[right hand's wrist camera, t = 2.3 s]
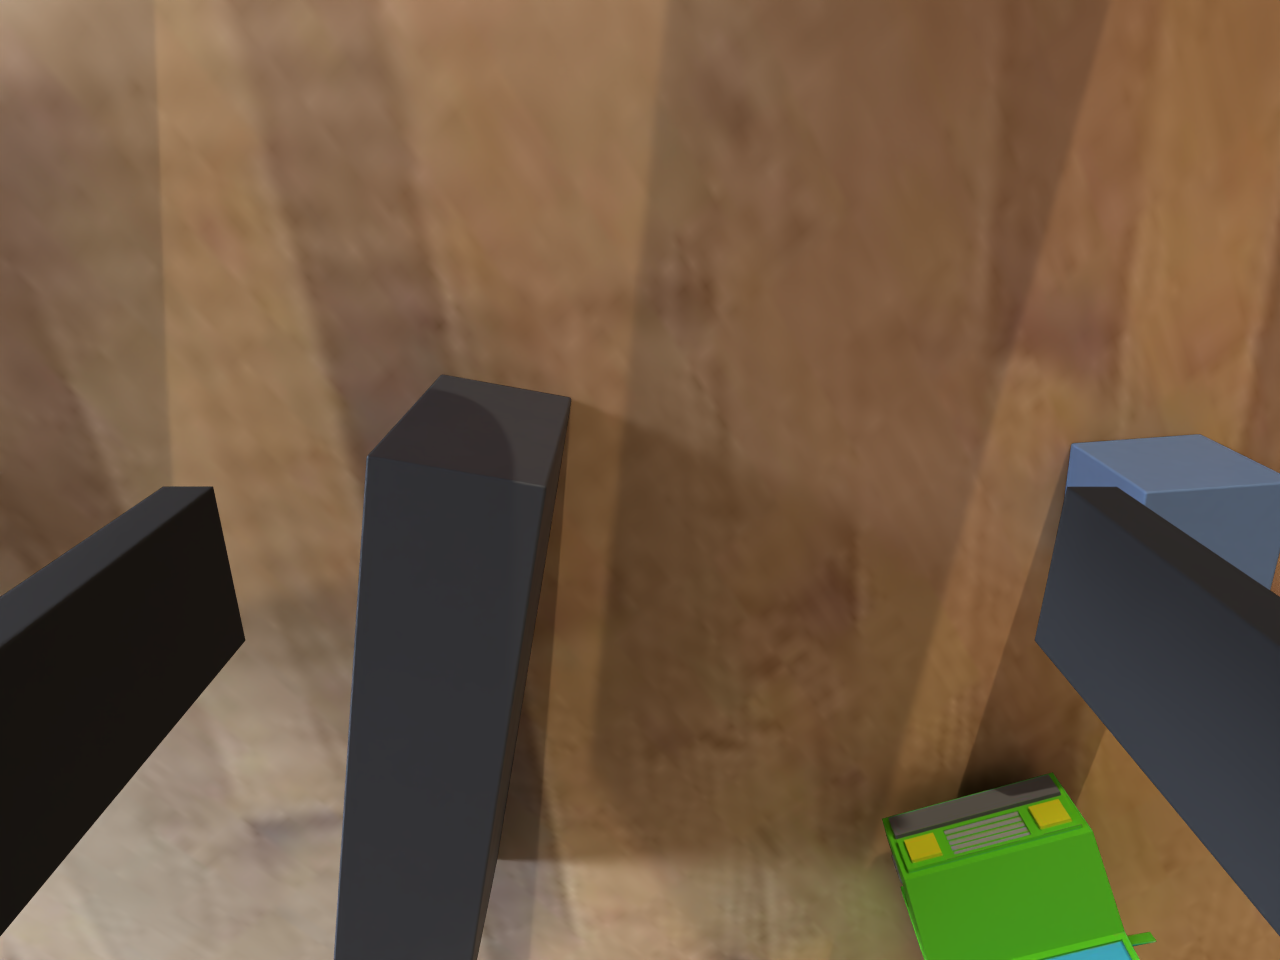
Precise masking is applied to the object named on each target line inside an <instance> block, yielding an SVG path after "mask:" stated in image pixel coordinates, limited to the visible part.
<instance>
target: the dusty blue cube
mask: <svg viewBox="0 0 1280 960" xmlns="http://www.w3.org/2000/svg"><path fill="white" fill-rule="evenodd" d="M1067 487H1118V488H1120V489H1121V490H1122V491H1124V492H1125V493H1127V494H1128V495H1130V496H1131V497H1133V498H1134V499H1136V500H1137V501H1139V502H1140V503H1142V504H1143V505H1145V506H1146V507H1148V508H1149V509H1151V510H1152V511H1154V512H1155V513H1156V514H1158V515H1159V516H1161V517H1162V518H1164V519H1165V520H1167V521H1168V522H1170V523H1171V524H1173V525H1174V526H1176V527H1177V528H1179V529H1180V530H1182V531H1183V532H1185V533H1186V534H1187V535H1189V536H1190V537H1192V538H1193V539H1195V540H1196V541H1198V542H1199V543H1201V544H1202V545H1204V546H1205V547H1207V548H1208V549H1210V550H1211V551H1213V552H1214V553H1216V554H1217V555H1219V556H1220V557H1221V558H1223V559H1224V560H1226V561H1227V562H1229V563H1230V564H1232V565H1233V566H1235V567H1236V568H1238V569H1239V570H1241V571H1242V572H1244V573H1245V574H1247V575H1248V576H1250V577H1251V578H1252V579H1254V580H1255V581H1257V582H1258V583H1260V584H1261V585H1263V586H1264V587H1266V588H1267V589H1269V590H1270V589H1271V585H1272V581H1273V577H1274V573H1275V569H1276V565H1277V561H1278V557H1279V553H1280V473H1278V472H1276V471H1274V470H1272V469H1270V468H1268V467H1266V466H1263V465H1261V464H1259V463H1257V462H1255V461H1253V460H1251V459H1249V458H1247V457H1245V456H1243V455H1241V454H1239V453H1237V452H1235V451H1233V450H1231V449H1229V448H1227V447H1225V446H1223V445H1221V444H1219V443H1217V442H1215V441H1213V440H1211V439H1209V438H1207V437H1205V436H1203V435H1200V434H1197V435H1183V436H1169V437H1155V438H1141V439H1127V440H1113V441H1099V442H1085V443H1073V444H1072V445H1071V451H1070V459H1069V467H1068V474H1067V482H1066V489H1067ZM1066 489H1065V493H1066ZM1064 498H1065V497H1064Z"/></svg>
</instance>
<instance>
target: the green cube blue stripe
mask: <svg viewBox="0 0 1280 960" xmlns="http://www.w3.org/2000/svg"><path fill="white" fill-rule="evenodd" d="M882 820H883V824H884V828H885V831H886V835H887V839H888V842H889V845H890V848H891V851H892V859H893V862H894V865H895V868H896V871H897V874H898V876H899V879H900V882H901V883H902V884H903V886H902V887H901V890H902V894H903V897H904V900H905V903H906V906H907V909H908V912H909V915H910V918H911V922H912V925H913V928H914V931H915V934H916V937H917V940H918V943H919V946H920V949H921V951H922V954H923V957H924V960H1140V959H1139V958H1138V956H1137V954H1136V952H1135V950H1134V948H1133V946H1137V945H1142V944H1148V943H1153V942H1156V940H1155V938H1154V937H1153V936H1152V934H1151V933H1150V932H1146V933H1141V934H1135V935H1129V936H1127V935H1126V933H1125V931H1124V928H1123V925H1122V922H1121V918H1120V915H1119V912H1118V909H1117V906H1116V903H1115V900H1114V896H1113V893H1112V890H1111V887H1110V884H1109V881H1108V878H1107V874H1106V871H1105V868H1104V865H1103V862H1102V859H1101V856H1100V852H1099V849H1098V846H1097V843H1096V840H1095V837H1094V834H1093V831H1092V829H1091V828H1090V827H1089V825H1088V824H1087V822H1086V821H1085V819H1084V818H1083V816H1082V815H1081V813H1080V812H1079V810H1078V809H1077V807H1076V806H1075V805H1074V803H1073V802H1072V800H1071V799H1070V797H1069V796H1068V794H1067V793H1066V791H1065V790H1064V788H1063V787H1062V785H1061V784H1060V783H1059V781H1058V780H1057V778H1056V777H1055V775H1054V774H1053V773H1049V774H1045V775H1042V776H1038V777H1034V778H1031V779H1027V780H1023V781H1020V782H1016V783H1012V784H1008V785H1005V786H1001V787H997V788H994V789H990V790H986V791H983V792H979V793H975V794H972V795H968V796H964V797H961V798H957V799H953V800H949V801H946V802H942V803H938V804H935V805H931V806H927V807H924V808H920V809H916V810H913V811H909V812H905V813H902V814H898V815H894V816H891V817H887V818H883V819H882Z"/></svg>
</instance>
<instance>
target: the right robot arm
mask: <svg viewBox="0 0 1280 960" xmlns="http://www.w3.org/2000/svg"><path fill="white" fill-rule="evenodd" d="M244 641H245V636H244V632H243V627H242V622H241V617H240V613H239V608H238V603H237V598H236V594H235V589H234V584H233V579H232V574H231V570H230V565H229V560H228V555H227V551H226V546H225V541H224V536H223V532H222V527H221V522H220V517H219V512H218V508H217V503H216V498H215V493H214V489H213V487H162V488H160V489H159V490H158V491H156V492H155V493H153V494H152V495H150V496H149V497H147V498H146V499H144V500H143V501H141V502H140V503H138V504H137V505H135V506H134V507H132V508H131V509H129V510H128V511H126V512H125V513H124V514H122V515H121V516H119V517H118V518H116V519H115V520H113V521H112V522H110V523H109V524H107V525H106V526H104V527H103V528H101V529H100V530H98V531H97V532H95V533H94V534H93V535H91V536H90V537H88V538H87V539H85V540H84V541H82V542H81V543H79V544H78V545H76V546H75V547H73V548H72V549H70V550H69V551H67V552H66V553H64V554H63V555H61V556H60V557H59V558H57V559H56V560H54V561H53V562H51V563H50V564H48V565H47V566H45V567H44V568H42V569H41V570H39V571H38V572H36V573H35V574H33V575H32V576H30V577H29V578H28V579H26V580H25V581H23V582H22V583H20V584H19V585H17V586H16V587H14V588H13V589H11V590H10V591H8V592H7V593H5V594H4V595H2V596H1V597H0V936H1V935H2V934H3V932H4V931H5V930H6V929H7V928H8V926H9V925H10V924H11V923H12V922H13V920H14V919H15V918H16V917H17V915H18V914H19V913H20V912H21V911H22V909H23V908H24V907H25V906H26V905H27V903H28V902H29V901H30V900H31V899H32V897H33V896H34V895H35V894H36V893H37V891H38V890H39V889H40V888H41V887H42V885H43V884H44V883H45V882H46V880H47V879H48V878H49V877H50V876H51V874H52V873H53V872H54V871H55V870H56V868H57V867H58V866H59V865H60V864H61V862H62V861H63V860H64V859H65V858H66V856H67V855H68V854H69V853H70V851H71V850H72V849H73V848H74V847H75V845H76V844H77V843H78V842H79V841H80V839H81V838H82V837H83V836H84V835H85V833H86V832H87V831H88V830H89V829H90V827H91V826H92V825H93V824H94V823H95V821H96V820H97V819H98V818H99V816H100V815H101V814H102V813H103V812H104V810H105V809H106V808H107V807H108V806H109V804H110V803H111V802H112V801H113V800H114V798H115V797H116V796H117V795H118V794H119V792H120V791H121V790H122V789H123V788H124V786H125V785H126V784H127V783H128V781H129V780H130V779H131V778H132V777H133V775H134V774H135V773H136V772H137V771H138V769H139V768H140V767H141V766H142V765H143V763H144V762H145V761H146V760H147V759H148V757H149V756H150V755H151V754H152V752H153V751H154V750H155V749H156V748H157V746H158V745H159V744H160V743H161V742H162V740H163V739H164V738H165V737H166V736H167V734H168V733H169V732H170V731H171V730H172V728H173V727H174V726H175V725H176V724H177V722H178V721H179V720H180V719H181V717H182V716H183V715H184V714H185V713H186V711H187V710H188V709H189V708H190V707H191V705H192V704H193V703H194V702H195V701H196V699H197V698H198V697H199V696H200V695H201V693H202V692H203V691H204V690H205V689H206V687H207V686H208V685H209V684H210V682H211V681H212V680H213V679H214V678H215V676H216V675H217V674H218V673H219V672H220V670H221V669H222V668H223V667H224V666H225V664H226V663H227V662H228V661H229V660H230V658H231V657H232V656H233V655H234V654H235V652H236V651H237V650H238V649H239V647H240V646H241V645H242V644H243V643H244ZM1035 641H1036V643H1037V644H1038V645H1039V646H1040V647H1041V649H1042V650H1043V651H1044V652H1045V654H1046V655H1047V656H1048V657H1049V658H1050V660H1051V661H1052V662H1053V663H1054V664H1055V666H1056V667H1057V668H1058V669H1059V670H1060V672H1061V673H1062V674H1063V675H1064V676H1065V678H1066V679H1067V680H1068V681H1069V682H1070V684H1071V685H1072V686H1073V687H1074V689H1075V690H1076V691H1077V692H1078V693H1079V695H1080V696H1081V697H1082V698H1083V699H1084V701H1085V702H1086V703H1087V704H1088V705H1089V707H1090V708H1091V709H1092V710H1093V711H1094V713H1095V714H1096V715H1097V716H1098V717H1099V719H1100V720H1101V721H1102V722H1103V724H1104V725H1105V726H1106V727H1107V728H1108V730H1109V731H1110V732H1111V733H1112V734H1113V736H1114V737H1115V738H1116V739H1117V740H1118V742H1119V743H1120V744H1121V745H1122V746H1123V748H1124V749H1125V750H1126V751H1127V752H1128V754H1129V755H1130V756H1131V757H1132V759H1133V760H1134V761H1135V762H1136V763H1137V765H1138V766H1139V767H1140V768H1141V769H1142V771H1143V772H1144V773H1145V774H1146V775H1147V777H1148V778H1149V779H1150V780H1151V781H1152V783H1153V784H1154V785H1155V786H1156V788H1157V789H1158V790H1159V791H1160V792H1161V794H1162V795H1163V796H1164V797H1165V798H1166V800H1167V801H1168V802H1169V803H1170V804H1171V806H1172V807H1173V808H1174V809H1175V810H1176V812H1177V813H1178V814H1179V815H1180V816H1181V818H1182V819H1183V820H1184V821H1185V823H1186V824H1187V825H1188V826H1189V827H1190V829H1191V830H1192V831H1193V832H1194V833H1195V835H1196V836H1197V837H1198V838H1199V839H1200V841H1201V842H1202V843H1203V844H1204V845H1205V847H1206V848H1207V849H1208V850H1209V851H1210V853H1211V854H1212V855H1213V856H1214V858H1215V859H1216V860H1217V861H1218V862H1219V864H1220V865H1221V866H1222V867H1223V868H1224V870H1225V871H1226V872H1227V873H1228V874H1229V876H1230V877H1231V878H1232V879H1233V880H1234V882H1235V883H1236V884H1237V885H1238V887H1239V888H1240V889H1241V890H1242V891H1243V893H1244V894H1245V895H1246V896H1247V897H1248V899H1249V900H1250V901H1251V902H1252V903H1253V905H1254V906H1255V907H1256V908H1257V909H1258V911H1259V912H1260V913H1261V914H1262V915H1263V917H1264V918H1265V919H1266V920H1267V922H1268V923H1269V924H1270V925H1271V926H1272V928H1273V929H1274V930H1275V931H1276V932H1277V934H1278V935H1279V936H1280V597H1279V596H1278V595H1276V594H1275V593H1273V592H1272V591H1270V590H1269V589H1267V588H1266V587H1264V586H1263V585H1261V584H1260V583H1258V582H1257V581H1255V580H1254V579H1252V578H1251V577H1250V576H1248V575H1247V574H1245V573H1244V572H1242V571H1241V570H1239V569H1238V568H1236V567H1235V566H1233V565H1232V564H1230V563H1229V562H1227V561H1226V560H1224V559H1223V558H1221V557H1220V556H1219V555H1217V554H1216V553H1214V552H1213V551H1211V550H1210V549H1208V548H1207V547H1205V546H1204V545H1202V544H1201V543H1199V542H1198V541H1196V540H1195V539H1193V538H1192V537H1190V536H1189V535H1187V534H1186V533H1185V532H1183V531H1182V530H1180V529H1179V528H1177V527H1176V526H1174V525H1173V524H1171V523H1170V522H1168V521H1167V520H1165V519H1164V518H1162V517H1161V516H1159V515H1158V514H1156V513H1155V512H1154V511H1152V510H1151V509H1149V508H1148V507H1146V506H1145V505H1143V504H1142V503H1140V502H1139V501H1137V500H1136V499H1134V498H1133V497H1131V496H1130V495H1128V494H1127V493H1125V492H1124V491H1122V490H1121V489H1120V488H1118V487H1067V489H1066V493H1065V498H1064V503H1063V508H1062V512H1061V517H1060V522H1059V527H1058V532H1057V536H1056V541H1055V546H1054V551H1053V555H1052V560H1051V565H1050V570H1049V574H1048V579H1047V584H1046V589H1045V594H1044V598H1043V603H1042V608H1041V613H1040V617H1039V622H1038V627H1037V632H1036V636H1035Z"/></svg>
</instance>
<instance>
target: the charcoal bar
mask: <svg viewBox="0 0 1280 960" xmlns="http://www.w3.org/2000/svg"><path fill="white" fill-rule="evenodd" d="M570 405H571V398H570V397H564V396H559V395H553V394H548V393H542V392H537V391H531V390H526V389H520V388H514V387H509V386H503V385H498V384H492V383H487V382H481V381H476V380H470V379H464V378H459V377H453V376H448V375H441V376H440V377H439V378H438V379H437V380H436V381H435V382H434V383H433V384H432V385H431V387H430V388H429V389H428V390H427V391H426V392H425V393H424V394H423V395H422V396H421V398H420V399H419V400H418V401H417V402H416V403H415V404H414V405H413V406H412V407H411V409H410V410H409V411H408V412H407V413H406V414H405V415H404V416H403V417H402V418H401V420H400V421H399V422H398V423H397V424H396V425H395V426H394V427H393V428H392V429H391V431H390V432H389V433H388V434H387V435H386V436H385V437H384V438H383V439H382V440H381V442H380V443H379V444H378V445H377V446H376V447H375V448H374V449H373V450H372V451H371V453H370V454H369V455H368V456H367V460H366V475H365V490H364V506H363V521H362V536H361V551H360V567H359V582H358V597H357V613H356V628H355V643H354V659H353V674H352V689H351V705H350V720H349V735H348V751H347V766H346V781H345V797H344V812H343V827H342V843H341V858H340V873H339V889H338V904H337V919H336V935H335V950H334V960H477V957H478V952H479V947H480V942H481V937H482V932H483V927H484V922H485V917H486V912H487V907H488V902H489V897H490V892H491V887H492V882H493V878H494V873H495V868H496V863H497V857H498V851H499V844H500V838H501V832H502V826H503V820H504V813H505V807H506V801H507V795H508V789H509V783H510V776H511V770H512V764H513V758H514V752H515V745H516V739H517V733H518V727H519V721H520V715H521V708H522V702H523V696H524V690H525V684H526V677H527V671H528V665H529V659H530V653H531V646H532V640H533V634H534V628H535V622H536V616H537V609H538V603H539V597H540V591H541V585H542V578H543V572H544V566H545V560H546V554H547V548H548V541H549V535H550V529H551V523H552V517H553V510H554V504H555V498H556V492H557V486H558V479H559V473H560V467H561V461H562V455H563V449H564V442H565V436H566V430H567V424H568V418H569V411H570Z"/></svg>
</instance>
